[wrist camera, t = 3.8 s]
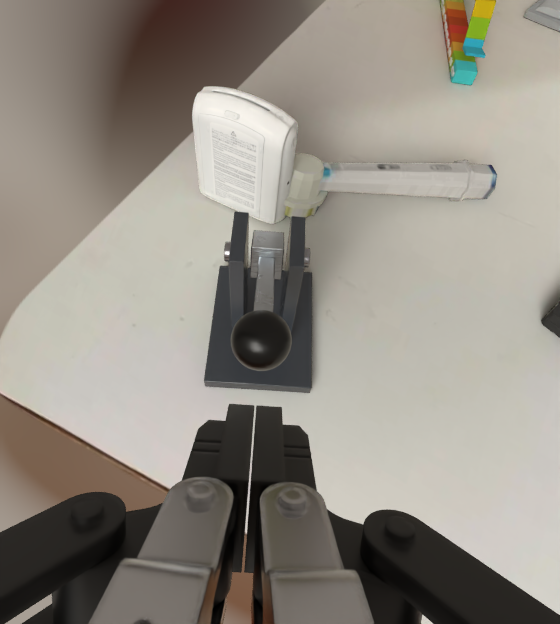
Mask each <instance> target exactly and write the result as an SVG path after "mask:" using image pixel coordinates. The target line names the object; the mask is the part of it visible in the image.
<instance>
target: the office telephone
mask: <svg viewBox="0 0 560 624" xmlns="http://www.w3.org/2000/svg"><path fill="white" fill-rule="evenodd" d="M524 17H525V18H527V19H530V20H532V21H534V22H537V23H539V24H542V25H544V26H547V27H549V28H552V29H554V30H557V31H559V32H560V0H539V1H537V2H536V3H535V4H534V5H533V6H531V7H530V8H529V9H527V11H526V13H525V15H524Z"/></svg>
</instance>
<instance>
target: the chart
mask: <svg viewBox="0 0 560 624" xmlns="http://www.w3.org/2000/svg"><path fill="white" fill-rule="evenodd" d="M475 1H476V2H475V5H474V9H473V12H472V16H471V19H470V23H469V26H468V22H467V17H466V12H465V7H464V1H463V0H440V5H441V12H442V19H443V27H444V34H445V41H446V48H447V55H448V63H449V69H450V75H451V82H452V83H460V84H467V85H472V83H473V81H474V79H475V77H476V75H477V73H478V72H477V67H476V62H475V57H482V58H485V53H484V51H483V49H482V46H483V43H484V40H485V36H486V33H487V30H488V26H489V23H490V20H491V17H492V13H493V10H494V7H495V4H496V0H475ZM474 56H475V57H474Z"/></svg>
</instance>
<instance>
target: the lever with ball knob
mask: <svg viewBox="0 0 560 624" xmlns="http://www.w3.org/2000/svg"><path fill="white" fill-rule="evenodd" d="M283 255H284V233H283V232H271V231H258V230H254V232H253V239H252V247H251V266H250V277H252V278H257V282H256V292H255V301H254V311H252V312H249V313H247V314H245V315H244V316H242V317H241V318H240V319H239V320H238V321H237V323H236V324H235V326H234V328H233V330H232V334H231V347H232V351H233V353H234V355H235V357H236V358H237V360H238V361H239V362H240V363H241V364H242V365H244V366H245V367H247V368H249V369H252V370H256V371H266V370H270V369H273V368H275V367H277V366H279V365H280V364H281V363H282V362H283V361H284V360H285V359H286V357H287V356H288V354H289V352H290V349H291V344H292V337H291V332H290V329H289V327H288V325H287V323H286V322H285V321H284V319H282V318H281V317H280V316H279V315H277V314H276V313H274V312H273V302H274V279H279V280H281V276H282V265H283Z"/></svg>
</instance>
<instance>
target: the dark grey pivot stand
mask: <svg viewBox="0 0 560 624" xmlns="http://www.w3.org/2000/svg"><path fill="white" fill-rule="evenodd" d="M248 237H249V213H247V212H235V213H234V221H233V229H232V237H231V242H226V243H225V249H224V260H225V261H228V263H229V266H220V269H219V276H218V283H217V291H216V298H215V305H214V312H213V320H212V327H211V334H210V341H209V349H208V356H207V363H206V370H205V378H204V383H205V386H210V387H225V388H241V389H257V390H272V391H288V392H304V393H310V391H311V388H312V273H310V272H304V267H309V262H310V248H305V217H296V216H292V217H291V223H290V230H289V238H288V246H287V253H286V261H285V269H284V270H282V276H281V280H279V279H274V302H273V312H274V313H276V314H277V315H279V316H280V317H281V318H282V319H284V321H285V322H286V323H287V325H288V327H289V329H290V332H291V337H292V344H291V349H290V352H289V354H288V356H287V357H286V359H285V360H284V361H283V362H282V363H281V364H280V365H279V366H277V367H275V368H273V369H270V370H266V371H256V370H252V369H249V368H247V367H245V366H244V365H242V364H241V363H240V362H239V361H238V360H237V358H236V357H235V355H234V353H233V351H232V347H231V334H232V330H233V328H234V326H235V324H236V323H237V321H238V320H239V319H240V318H241V317H242V316H244V315H245V314H247V313H249V312H252V311H254V301H255V292H256V282H257V278H252V277H250V268H248Z"/></svg>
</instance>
